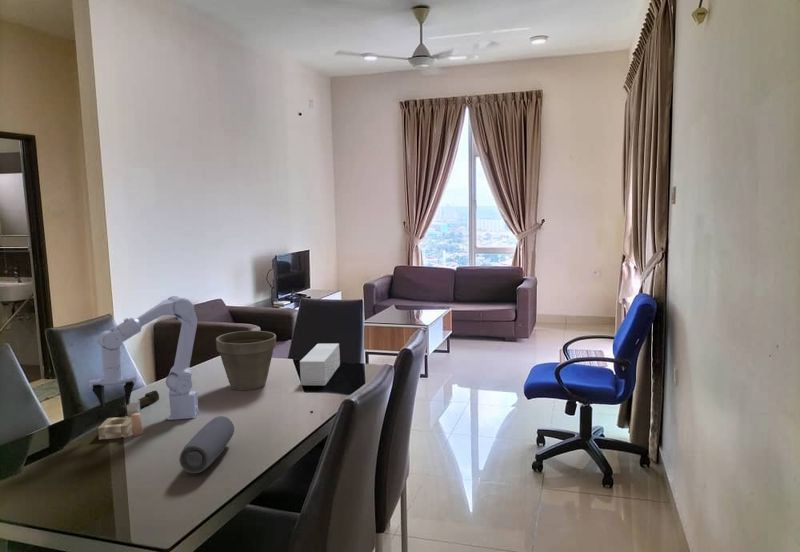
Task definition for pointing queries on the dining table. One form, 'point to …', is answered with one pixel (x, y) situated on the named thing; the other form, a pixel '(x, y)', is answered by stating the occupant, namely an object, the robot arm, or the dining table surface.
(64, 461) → the dining table surface
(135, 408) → the square bit
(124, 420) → the socket block
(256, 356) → the plant pot
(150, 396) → the hand tool
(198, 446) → the bluetooth speaker
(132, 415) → the round dowel
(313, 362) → the long white block
